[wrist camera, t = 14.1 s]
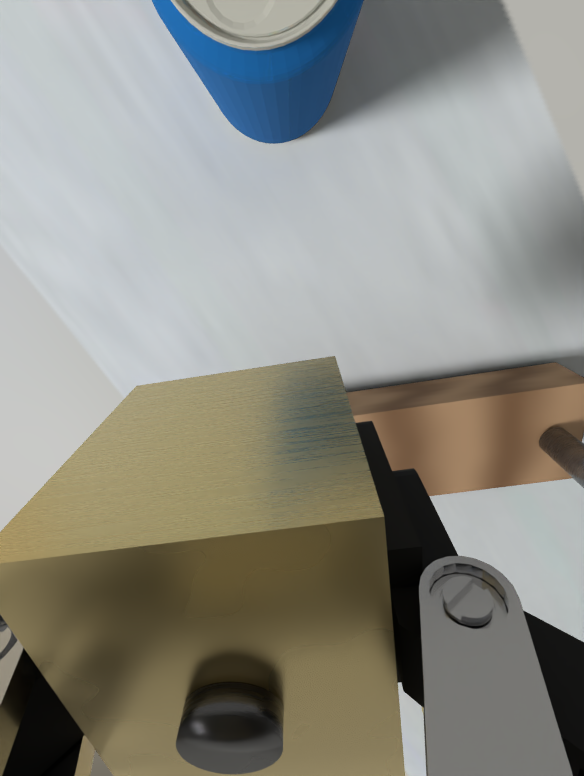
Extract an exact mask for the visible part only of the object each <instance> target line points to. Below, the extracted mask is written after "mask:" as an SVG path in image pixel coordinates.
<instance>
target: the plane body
mask: <svg viewBox="0 0 584 776" xmlns="http://www.w3.org/2000/svg"><path fill="white" fill-rule="evenodd" d="M346 394H347V397H348V400H349V404H350V407H351V410H352V413H353V417H354V420H355V423H358V422H365V421H372V422H373V424H374V426H375V429H376V431H377V434H378V436H379V439H380V441H381V444H382V447H383V449H384V452H385V454H386V457H387V459H388V462H389V464H390V467H391V469H392V471H397V470H404V469H412V468H414V469H415V470H416V471H417V473H418V475H419V477H420V479H421V481H422V483H423V485H424V487H425V489H426V491H427V493H428V495H429V496H434V495H442V494H450V493H458V492H466V491H474V490H482V489H490V488H498V487H506V486H514V485H522V484H530V483H538V482H546V481H554V480H562V479H569V478H572V477H571V476H570V475H569V474H568V473H567V472H566V471H565V470H564V469H563V468H561V467H560V466H559V465H558V464H557V463H556V462H555V461H554V460H553V459H552V458H551V457H550V456H548V455H547V454H546V453H545V452H544V451H543V450H542V449H541V448H540V446H539V439H540V437H541V435H542V434H543V433H544V432H545V431H547V430H549V429H551V428H554V427H561V428H564V429H565V430H567V431H568V432H569V433H571V434H572V435H573V436H575V437H576V438H577V439H578V440H580V441H581V442H582V438H583V433H584V377H582V376H580V375H578V374H576V373H574V372H573V371H571V370H569V369H567V368H565V367H563V366H562V365H560V364H558V363H556V362H555V363H548V364H541V365H534V366H527V367H520V368H513V369H506V370H500V371H493V372H486V373H479V374H472V375H465V376H458V377H451V378H444V379H437V380H430V381H423V382H417V383H410V384H403V385H396V386H389V387H382V388H375V389H368V390H361V391H354V392H347V393H346Z"/></svg>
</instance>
